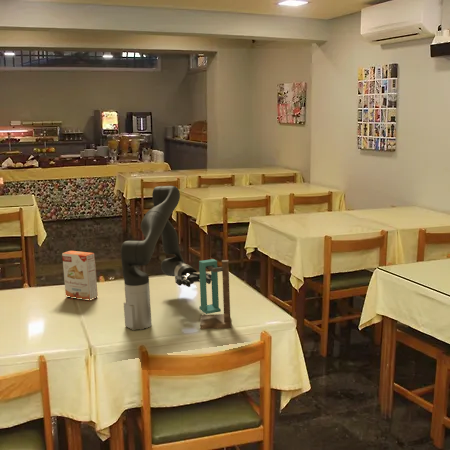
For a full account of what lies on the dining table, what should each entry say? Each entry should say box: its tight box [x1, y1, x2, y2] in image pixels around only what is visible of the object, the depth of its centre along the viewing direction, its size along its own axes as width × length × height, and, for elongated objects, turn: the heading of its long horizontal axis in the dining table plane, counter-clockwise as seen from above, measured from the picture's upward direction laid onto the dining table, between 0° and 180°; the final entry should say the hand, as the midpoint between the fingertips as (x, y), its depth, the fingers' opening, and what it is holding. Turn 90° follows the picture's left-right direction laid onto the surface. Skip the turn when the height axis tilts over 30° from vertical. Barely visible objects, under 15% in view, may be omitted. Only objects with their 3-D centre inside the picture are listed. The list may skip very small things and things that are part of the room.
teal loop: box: [198, 258, 222, 315], centre depth 229 cm, size 6×7×20 cm
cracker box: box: [61, 250, 99, 300], centre depth 267 cm, size 14×6×21 cm, turn 62°
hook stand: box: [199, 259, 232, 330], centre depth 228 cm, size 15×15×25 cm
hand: (199, 282), depth 238 cm, fingers open, 8 cm apart
